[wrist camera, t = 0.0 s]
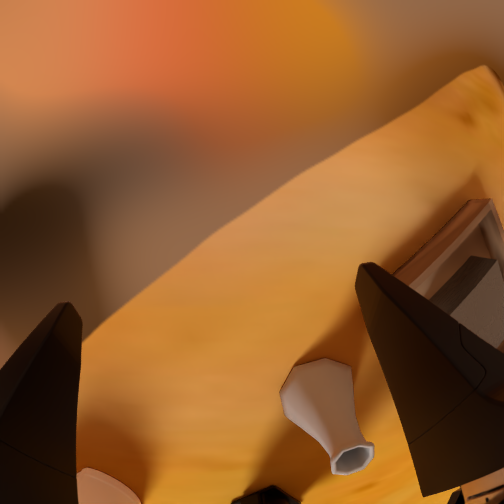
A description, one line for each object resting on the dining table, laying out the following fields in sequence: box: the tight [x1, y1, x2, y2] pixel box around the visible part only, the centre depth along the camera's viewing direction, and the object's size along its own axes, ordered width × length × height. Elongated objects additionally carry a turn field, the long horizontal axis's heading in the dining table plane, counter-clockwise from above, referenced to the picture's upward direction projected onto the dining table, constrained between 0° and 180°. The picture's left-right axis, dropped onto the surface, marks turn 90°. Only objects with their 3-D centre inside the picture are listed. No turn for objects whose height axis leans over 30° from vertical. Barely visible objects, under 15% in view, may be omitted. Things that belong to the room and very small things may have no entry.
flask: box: [279, 358, 374, 475], centre depth 20 cm, size 7×7×10 cm
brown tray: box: [392, 199, 504, 353], centre depth 24 cm, size 18×16×4 cm
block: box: [429, 256, 504, 348], centre depth 23 cm, size 9×9×4 cm
